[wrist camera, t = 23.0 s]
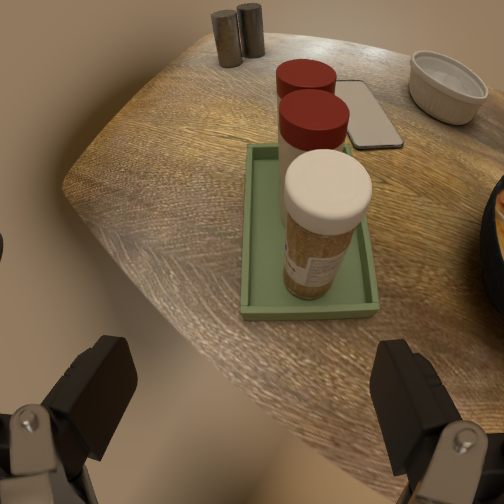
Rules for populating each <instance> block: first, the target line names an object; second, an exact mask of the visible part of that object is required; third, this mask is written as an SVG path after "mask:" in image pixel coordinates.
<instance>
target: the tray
mask: <svg viewBox="0 0 504 504" xmlns="http://www.w3.org/2000/svg"><path fill="white" fill-rule="evenodd" d="M342 153H345V154H347V155H349V156H351V157H353V155H352V151H351V148H350V144H344V148H343V152H342ZM285 235H286V227H285V226H284V225H283V223H282V221H281V217H280V180H279V152H278V143H261V144H247V156H246V178H245V201H244V225H243V250H242V276H241V304H240V305H241V307H240V313H241V315H242V318H243V320H244V321H282V320H322V319H346V318H364V317H372V316H373V315H374V314H375V313H376V312H377V311H378V310H379V309H380V306H379V297H378V289H377V281H376V273H375V266H374V260H373V253H372V247H371V241H370V235H369V229H368V224H367V218H366V213H365V215H364V217H363V219H362V221H361V222H360V223H359V224H358V225H357V226H356V229H355V232H354V234H353V236H352V241H351V243H350V246H349V248H348V250H347V252H346V255H345V257H344V259H343V261H342V264H341V266H340V268H339V270H338V272H337V274H336V276H335V277H334V280H333V283H332V286H331V288H330V289H329V291H328V292H327V293H326V294H325V295H323V296H322V297H320V298H317V299H313V300H305V299H301V298H298V297H296V296H294V295H293V294H292V293H290V292H289V290H288V289H287V288H286V286H285V284H284V281H283V268H284V253H285Z"/></svg>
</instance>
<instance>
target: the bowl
mask: <svg viewBox="0 0 504 504" xmlns="http://www.w3.org/2000/svg"><path fill="white" fill-rule="evenodd" d="M480 253H481V261H482V279H483V284H484V288H485V291H486V293H487V296H488V298H489V300H490V301H491V303H492V305H493V306H494V307H495V308H496V309H497V310H498V311H499V312H500V313H501V314H503V315H504V175H503V176H502V177H501V179H500V180H499V182H498V183H497V184H496V186H495V187H494V189H493V191H492V193H491V195H490V198H489V200H488V202H487V205H486V207H485V210H484V213H483V217H482V224H481V231H480Z"/></svg>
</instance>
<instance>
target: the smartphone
mask: <svg viewBox="0 0 504 504" xmlns="http://www.w3.org/2000/svg"><path fill="white" fill-rule="evenodd" d="M335 95H336V96H337V97H339V98H340V99H342V100H343V101H344V102H345V103H346V105H347V106H348V108H349V111H350V117H349V122H348V127H347V132H348V134H349V136H350V138H351V140H352V142H353V144H354V146H355V147H356V148H358V149H367V148H389V147H402V146H403V145H404V142H403V140H402V139H401V137H400V135H399V134H398V132H397V130H396V129H395V127H394V125H393V124H392V122H391V121H390V119H389V117H388V116H387V114H386V113H385V111H384V110H383V108H382V107H381V105H380V104H379V102H378V101H377V99H376V98H375V96H374V95H373V93H372V92H371V91H370V89H369V88H368V86H367V85H366V84H365V82H363V81H360V80H336V86H335Z"/></svg>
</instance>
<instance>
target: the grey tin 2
mask: <svg viewBox="0 0 504 504" xmlns="http://www.w3.org/2000/svg"><path fill="white" fill-rule="evenodd" d="M237 15H238V22H239V30H240V38H241V47H242V55H243V56H244V57H246V58H258V57H261V56H263V55H264V54H265V48H264V34H263V21H262V8H261V5H260V4H257V3H248V4H241V5H239V6H237Z"/></svg>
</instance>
